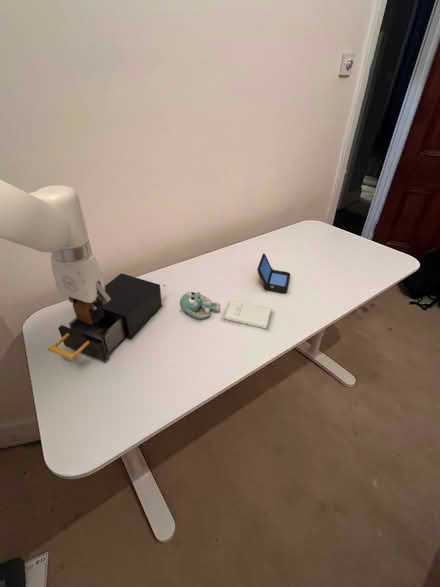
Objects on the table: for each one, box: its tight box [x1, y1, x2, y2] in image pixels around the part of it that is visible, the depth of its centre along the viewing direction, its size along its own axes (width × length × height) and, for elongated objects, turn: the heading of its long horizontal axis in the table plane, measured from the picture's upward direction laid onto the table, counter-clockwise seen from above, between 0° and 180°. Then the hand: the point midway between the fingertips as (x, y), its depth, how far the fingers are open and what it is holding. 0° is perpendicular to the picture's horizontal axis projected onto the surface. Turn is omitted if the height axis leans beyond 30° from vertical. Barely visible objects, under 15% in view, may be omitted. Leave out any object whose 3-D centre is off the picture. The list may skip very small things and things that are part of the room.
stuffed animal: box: [179, 291, 221, 320], centre depth 90 cm, size 11×7×12 cm
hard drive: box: [224, 300, 272, 330], centre depth 90 cm, size 2×8×12 cm
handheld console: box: [257, 252, 291, 294], centre depth 103 cm, size 12×11×7 cm
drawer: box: [47, 311, 128, 363], centre depth 76 cm, size 20×12×6 cm, turn 157°
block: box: [72, 299, 97, 324], centre depth 72 cm, size 4×4×4 cm
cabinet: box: [102, 272, 163, 340], centre depth 86 cm, size 16×14×8 cm
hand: (90, 315), depth 73 cm, fingers closed on block, 4 cm apart
